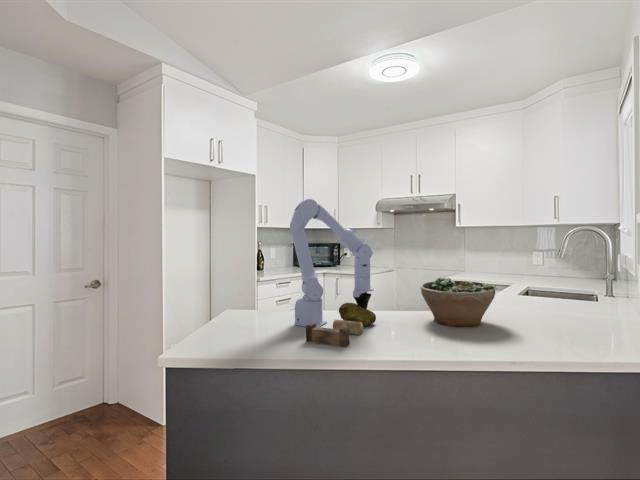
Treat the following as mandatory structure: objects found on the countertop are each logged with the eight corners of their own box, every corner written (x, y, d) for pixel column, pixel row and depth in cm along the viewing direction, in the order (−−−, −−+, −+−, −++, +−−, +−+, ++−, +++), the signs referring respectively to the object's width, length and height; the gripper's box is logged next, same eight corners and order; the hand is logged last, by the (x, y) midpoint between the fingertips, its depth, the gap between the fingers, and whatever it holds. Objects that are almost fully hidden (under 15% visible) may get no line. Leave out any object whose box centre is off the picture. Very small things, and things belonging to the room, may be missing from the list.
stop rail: (306, 341, 113) (305, 325, 113) (310, 338, 116) (310, 322, 115) (346, 347, 108) (345, 329, 107) (349, 344, 110) (349, 327, 110)
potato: (375, 329, 126) (375, 305, 126) (338, 328, 128) (337, 304, 127) (376, 322, 134) (375, 300, 134) (340, 321, 136) (340, 300, 136)
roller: (331, 327, 121) (335, 317, 124) (335, 334, 124) (338, 323, 126) (357, 330, 118) (360, 319, 120) (360, 337, 120) (363, 326, 123)
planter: (511, 328, 125) (512, 284, 125) (445, 334, 119) (445, 288, 119) (464, 311, 150) (464, 275, 150) (407, 315, 144) (407, 277, 143)
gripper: (366, 279, 127) (366, 319, 128) (378, 274, 140) (378, 310, 141) (347, 278, 130) (347, 317, 131) (360, 273, 143) (361, 308, 144)
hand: (362, 313), depth 136 cm, fingers closed
